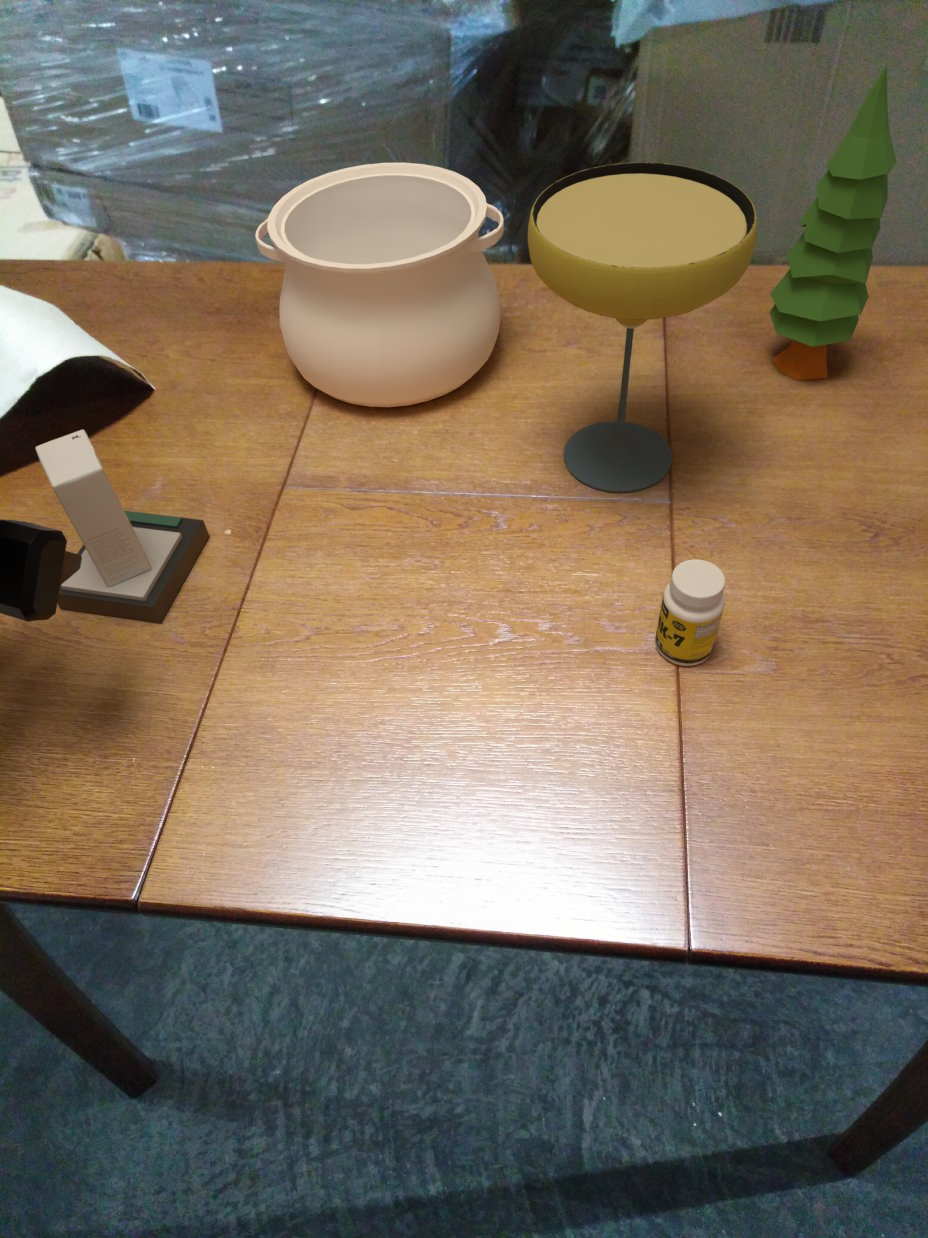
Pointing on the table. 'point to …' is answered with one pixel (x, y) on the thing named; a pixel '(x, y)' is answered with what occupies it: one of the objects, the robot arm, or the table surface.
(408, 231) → the pot
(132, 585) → the kitchen scale
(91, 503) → the cosmetic box
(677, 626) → the supplement bottle
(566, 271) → the cocktail glass
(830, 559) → the table surface
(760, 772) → the table surface
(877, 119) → the decorative tree
